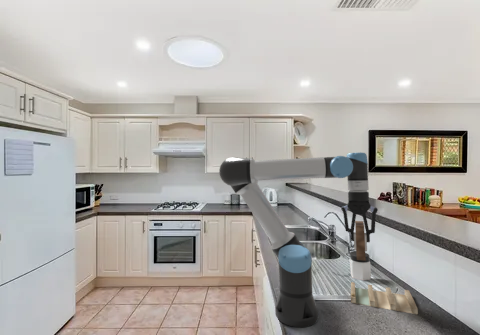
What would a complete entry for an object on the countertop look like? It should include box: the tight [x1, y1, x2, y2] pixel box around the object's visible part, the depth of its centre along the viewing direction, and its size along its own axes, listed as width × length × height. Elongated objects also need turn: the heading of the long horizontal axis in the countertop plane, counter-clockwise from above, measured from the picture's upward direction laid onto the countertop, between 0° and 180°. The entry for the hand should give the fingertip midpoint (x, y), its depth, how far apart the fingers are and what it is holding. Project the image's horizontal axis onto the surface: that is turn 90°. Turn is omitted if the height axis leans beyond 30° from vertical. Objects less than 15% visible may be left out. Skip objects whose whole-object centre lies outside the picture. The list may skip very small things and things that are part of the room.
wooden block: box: [354, 220, 366, 261], centre depth 99 cm, size 3×10×13 cm, turn 156°
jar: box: [349, 251, 372, 281], centre depth 117 cm, size 9×8×12 cm
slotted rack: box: [350, 281, 419, 315], centre depth 96 cm, size 21×14×4 cm, turn 66°
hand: (360, 249), depth 99 cm, fingers closed on wooden block, 3 cm apart
